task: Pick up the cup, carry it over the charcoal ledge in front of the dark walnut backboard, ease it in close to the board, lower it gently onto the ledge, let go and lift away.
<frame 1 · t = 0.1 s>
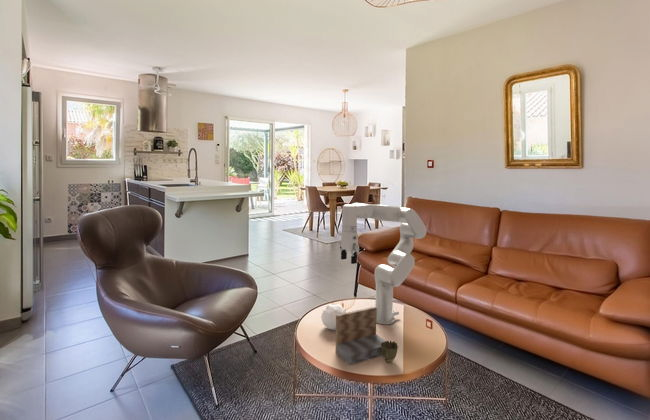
hand: (348, 261, 187), 37 cm above the table, tool pointing down, fingers open, 9 cm apart
geodesic sphere: (333, 328, 192), on the table
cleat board: (356, 347, 172), on the table
cup: (388, 361, 160), on the table
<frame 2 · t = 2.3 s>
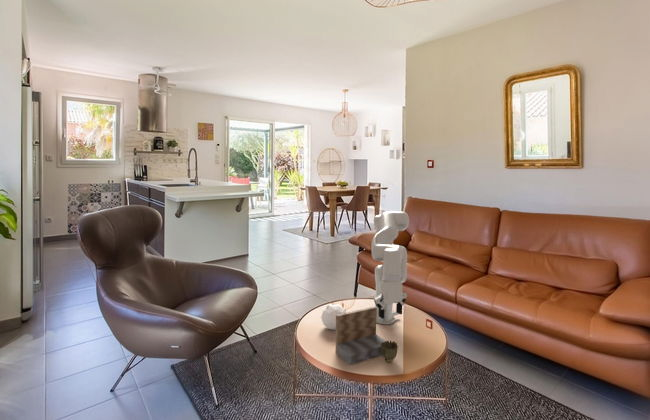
hand: (390, 315, 157), 21 cm above the table, tool pointing down, fingers open, 9 cm apart
nothing on the table moved.
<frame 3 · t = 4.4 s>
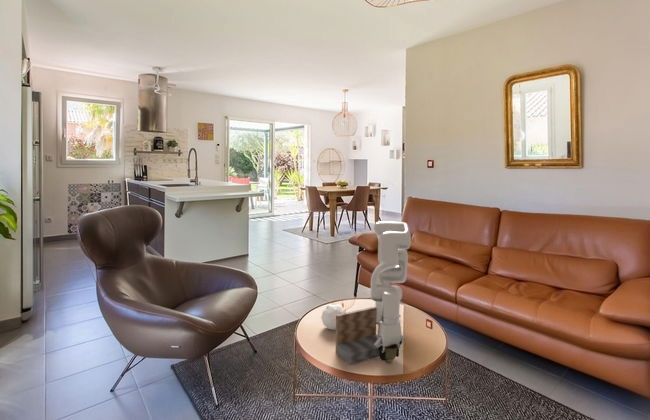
hand: (389, 357, 160), 2 cm above the table, tool pointing down, fingers closed on cup, 7 cm apart
cup: (388, 361, 160), on the table, touching gripper
everything else where it was.
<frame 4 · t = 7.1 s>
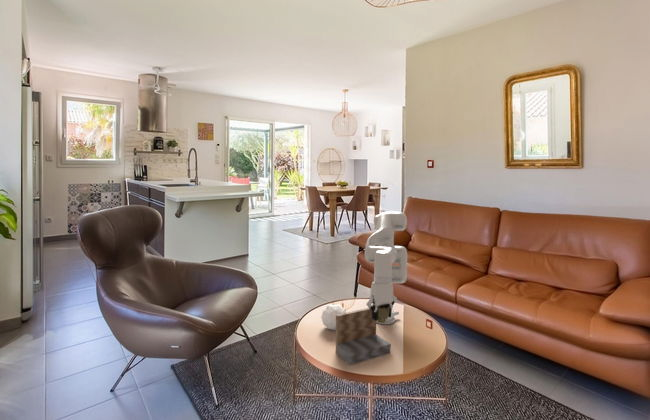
hand: (381, 317, 159), 19 cm above the table, tool pointing down, fingers closed on cup, 7 cm apart
cup: (381, 322, 160), point 17 cm above the table, touching gripper
everything else where it was.
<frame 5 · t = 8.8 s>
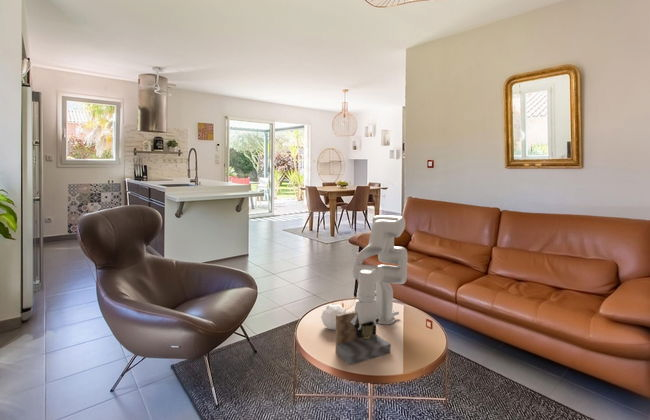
hand: (365, 334, 165), 9 cm above the table, tool pointing down, fingers closed on cup, 7 cm apart
cup: (365, 339, 165), point 7 cm above the table, touching gripper
everything else where it was.
when the fingers open (8 cm above the table, at t = 10.0 s): cup drops 1 cm, resting on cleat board.
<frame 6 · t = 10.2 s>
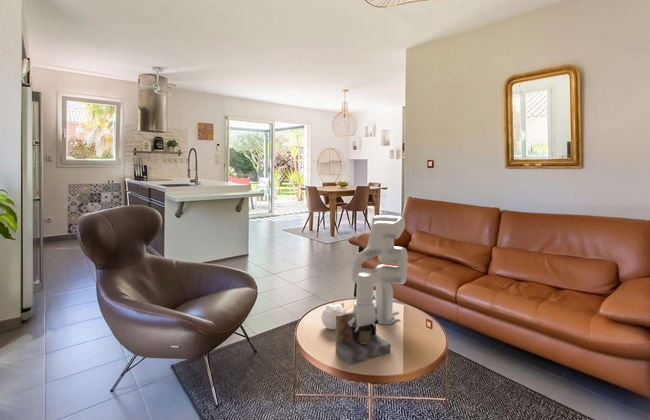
hand: (363, 336, 166), 8 cm above the table, tool pointing down, fingers open, 8 cm apart
cup: (363, 344, 166), point 4 cm above the table, touching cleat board
everything else where it was.
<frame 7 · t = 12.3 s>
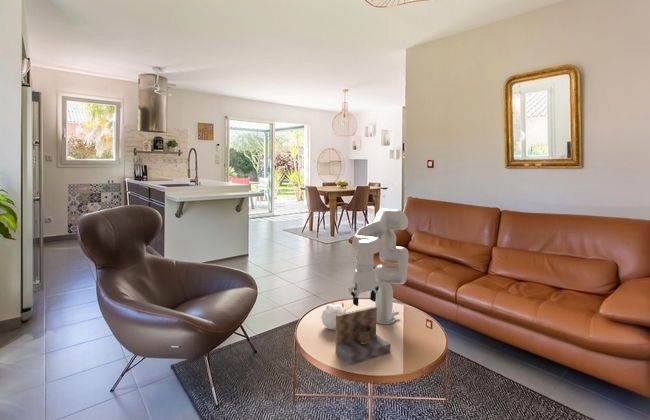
hand: (364, 302, 167), 23 cm above the table, tool pointing down, fingers open, 9 cm apart
nothing on the table moved.
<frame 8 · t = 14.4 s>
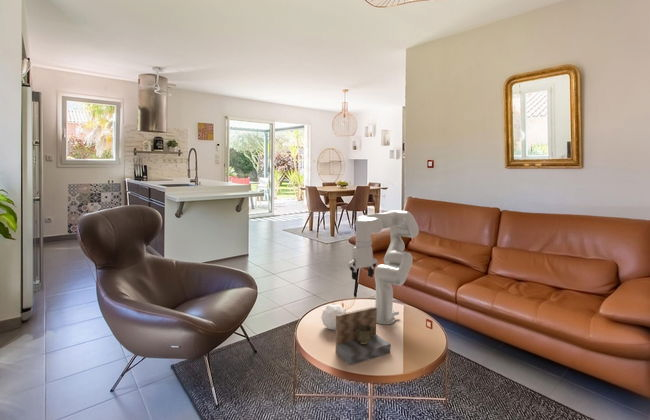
hand: (362, 277, 180), 30 cm above the table, tool pointing down, fingers open, 9 cm apart
nothing on the table moved.
at the end: cup inside the target area on the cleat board (0.9 cm from its centre), point 4.3 cm above the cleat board's base; cup tilted 0°; the gripper is holding nothing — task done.
